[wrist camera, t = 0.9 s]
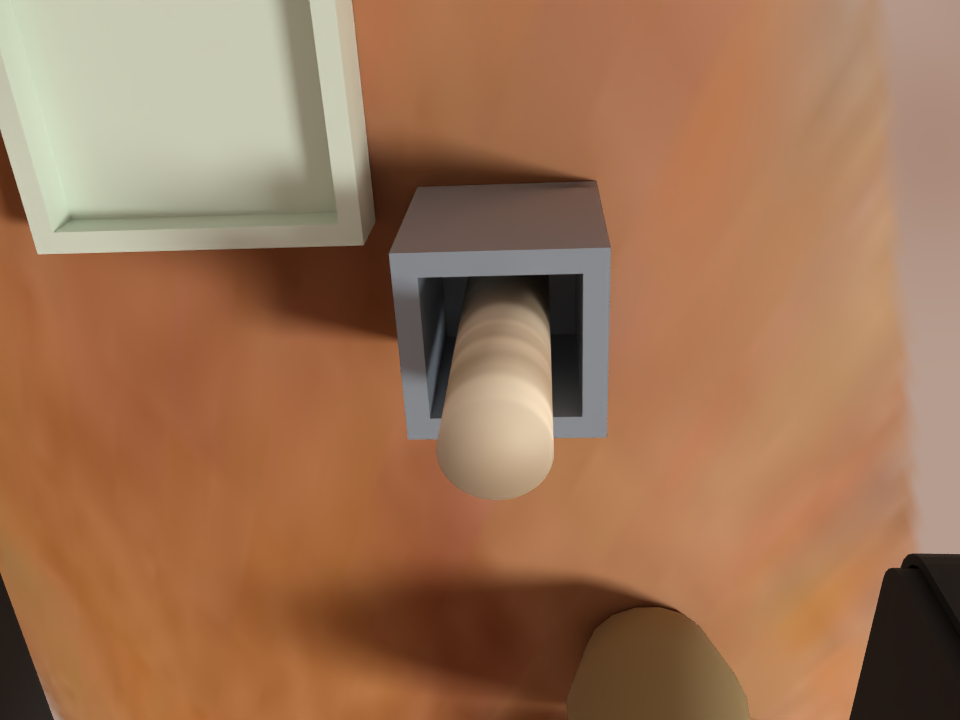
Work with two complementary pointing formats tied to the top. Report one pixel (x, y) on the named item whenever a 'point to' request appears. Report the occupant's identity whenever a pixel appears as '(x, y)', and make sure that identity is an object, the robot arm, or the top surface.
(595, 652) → the squeeze bottle
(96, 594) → the top surface
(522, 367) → the dowel
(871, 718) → the robot arm
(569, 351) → the holder
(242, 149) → the tray
